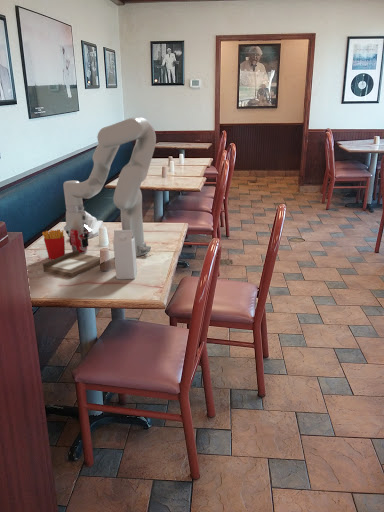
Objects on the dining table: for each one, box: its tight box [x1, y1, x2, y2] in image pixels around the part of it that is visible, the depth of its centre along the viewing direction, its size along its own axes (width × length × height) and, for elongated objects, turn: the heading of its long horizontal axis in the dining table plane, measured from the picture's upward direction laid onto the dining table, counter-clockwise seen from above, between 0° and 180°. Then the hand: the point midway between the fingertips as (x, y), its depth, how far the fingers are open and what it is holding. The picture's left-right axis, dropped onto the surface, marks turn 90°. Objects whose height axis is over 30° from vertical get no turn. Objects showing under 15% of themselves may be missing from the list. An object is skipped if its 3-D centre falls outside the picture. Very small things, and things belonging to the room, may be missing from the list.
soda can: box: [70, 229, 88, 254], centre depth 207 cm, size 7×7×12 cm
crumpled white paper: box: [84, 210, 104, 239], centre depth 234 cm, size 12×15×14 cm
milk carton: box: [112, 229, 138, 280], centre depth 175 cm, size 7×7×19 cm
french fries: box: [42, 229, 66, 260], centre depth 201 cm, size 9×4×13 cm, turn 102°
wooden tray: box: [42, 250, 101, 279], centre depth 190 cm, size 16×20×4 cm
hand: (79, 245), depth 208 cm, fingers closed on soda can, 7 cm apart
